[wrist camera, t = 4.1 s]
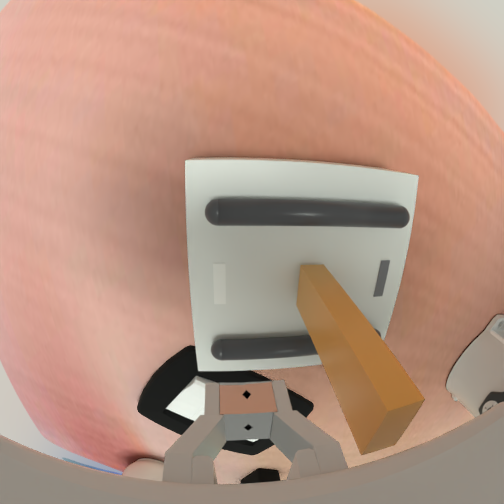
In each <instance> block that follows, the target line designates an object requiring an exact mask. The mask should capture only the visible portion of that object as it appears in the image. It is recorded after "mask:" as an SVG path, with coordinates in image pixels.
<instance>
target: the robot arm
mask: <svg viewBox="0 0 504 504" xmlns="http://www.w3.org/2000/svg"><path fill="white" fill-rule="evenodd" d="M446 388H447V390H448V391H449V392H450V393H452V398H453V399H454V400H455V401H457V400H459V402H460V403H461V404H462V405H463V406H464V407H465V408H466V409H467V410H468V411H469V412H470V413H471V414H472V415H473V416H474V417H475V418H474V419H472V420H470V421H468V422H467V423H465V424H463V425H461V426H459V427H457V428H455V429H453V430H451V431H449V432H447V433H445V434H443V435H441V436H439V437H436V438H434V439H432V440H430V441H427V442H425V443H423V444H420V445H418V446H415V447H413V448H410V449H408V450H405V451H403V452H400V453H397V454H394V455H391V456H388V457H386V458H382V459H379V460H376V461H373V462H370V463H366V464H363V465H359V466H355V467H351V468H348V466H347V463H346V461H345V458H344V455H343V452H342V450H341V447H340V444H339V442H338V441H336V440H335V439H333V438H332V437H331V436H329V435H328V434H327V433H325V432H324V431H323V430H321V429H320V428H319V427H317V426H316V425H315V424H313V423H312V422H311V421H309V420H308V419H307V418H306V417H304V416H303V415H302V414H300V413H299V412H298V411H297V410H294V411H293V410H292V406H291V403H290V399H289V395H288V391H287V387H286V384H285V381H284V380H274V381H259V382H245V383H206V385H205V407H204V415H200V416H199V417H198V418H197V419H196V420H195V421H194V423H193V424H192V425H191V426H190V427H189V428H188V429H187V430H186V431H185V432H184V433H183V434H182V436H181V437H180V438H179V439H178V440H177V441H176V442H175V443H174V444H173V445H172V446H171V447H170V448H169V449H168V450H167V451H166V452H165V460H164V469H163V478H162V481H155V480H147V479H140V478H134V477H128V476H123V475H118V474H113V473H108V472H104V471H99V470H95V469H91V468H87V467H84V466H80V465H77V464H73V463H70V462H67V461H64V460H60V459H57V458H55V457H52V456H49V455H46V454H43V453H41V452H38V451H36V450H33V449H30V448H28V447H26V446H23V445H21V444H19V443H17V442H15V441H12V440H10V439H8V438H6V437H4V436H2V435H0V504H504V315H496V316H495V317H494V318H493V319H492V321H491V322H490V323H489V325H488V326H487V328H486V329H485V330H484V331H483V332H482V333H481V334H480V335H479V336H478V337H477V338H476V339H475V340H474V341H473V342H472V343H471V344H470V346H469V347H468V348H467V349H466V350H465V352H464V353H463V354H462V355H461V357H460V358H459V360H458V361H457V362H456V364H455V366H454V367H453V369H452V371H451V373H450V375H449V377H448V380H447V383H446ZM248 439H270V440H271V441H272V442H273V443H274V444H275V445H276V447H277V448H278V449H279V450H280V451H281V452H282V453H283V454H284V455H285V456H286V457H287V458H288V459H289V460H290V461H291V462H292V465H291V468H290V471H289V474H288V477H287V480H282V481H273V482H262V483H247V484H218V483H217V478H216V473H215V467H214V462H213V461H214V459H215V458H216V456H217V455H218V453H219V452H220V450H221V449H222V447H223V446H224V444H225V443H226V441H231V440H248Z"/></svg>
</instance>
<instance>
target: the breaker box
mask: <svg viewBox="0 0 504 504" xmlns="http://www.w3.org/2000/svg"><path fill="white" fill-rule="evenodd" d="M418 177H419V176H418V175H414V174H409V173H405V172H400V171H395V170H390V169H385V168H378V167H370V166H362V165H353V164H344V163H334V162H322V161H309V160H294V159H274V158H237V157H211V158H191V159H188V160H185V195H186V228H187V249H188V267H189V282H190V295H191V307H192V318H193V329H194V339H195V348H196V357H197V365H198V371H245V370H265V369H280V368H292V367H303V366H312V365H321V364H322V362H321V360H320V357H319V355H318V353H317V351H316V348H315V346H314V344H313V341H312V339H311V337H310V335H309V332H308V330H307V328H306V326H305V323H304V321H303V319H302V317H301V314H300V312H299V310H298V308H297V306H296V302H297V293H298V284H299V275H300V265H322V264H324V266H325V267H326V268H327V269H328V271H329V272H330V273H331V274H332V275H333V277H334V278H335V279H336V280H337V282H338V283H339V284H340V285H341V287H342V288H343V289H344V290H345V292H346V293H347V294H348V296H349V297H350V298H351V299H352V301H353V302H354V303H355V304H356V306H357V307H358V308H359V310H360V311H361V312H362V314H363V315H364V316H365V317H366V319H367V320H368V321H369V323H370V324H371V325H372V327H373V328H374V329H375V331H376V332H377V333H378V335H379V336H380V337H381V339H382V340H383V341H384V339H385V336H386V332H387V329H388V326H389V323H390V319H391V316H392V313H393V309H394V306H395V302H396V298H397V294H398V291H399V287H400V283H401V278H402V274H403V270H404V265H405V261H406V256H407V251H408V246H409V241H410V235H411V229H412V223H413V217H414V210H415V203H416V195H417V186H418Z"/></svg>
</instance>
